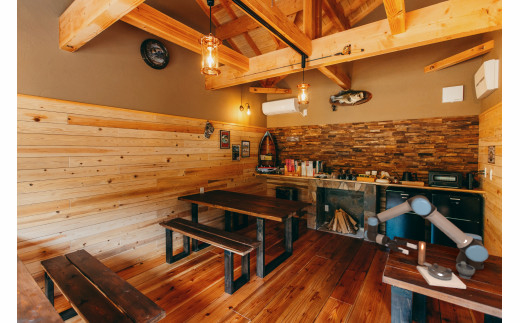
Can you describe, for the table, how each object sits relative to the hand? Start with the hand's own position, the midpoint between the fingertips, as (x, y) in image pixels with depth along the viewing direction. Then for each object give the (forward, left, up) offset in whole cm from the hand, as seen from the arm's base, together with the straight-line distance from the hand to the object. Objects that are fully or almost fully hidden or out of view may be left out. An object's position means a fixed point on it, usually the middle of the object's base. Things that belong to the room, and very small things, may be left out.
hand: (412, 250), depth 170 cm
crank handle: (-10, +9, -11) cm, 18 cm away
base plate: (-13, +11, -13) cm, 22 cm away
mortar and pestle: (-30, +6, -13) cm, 33 cm away
